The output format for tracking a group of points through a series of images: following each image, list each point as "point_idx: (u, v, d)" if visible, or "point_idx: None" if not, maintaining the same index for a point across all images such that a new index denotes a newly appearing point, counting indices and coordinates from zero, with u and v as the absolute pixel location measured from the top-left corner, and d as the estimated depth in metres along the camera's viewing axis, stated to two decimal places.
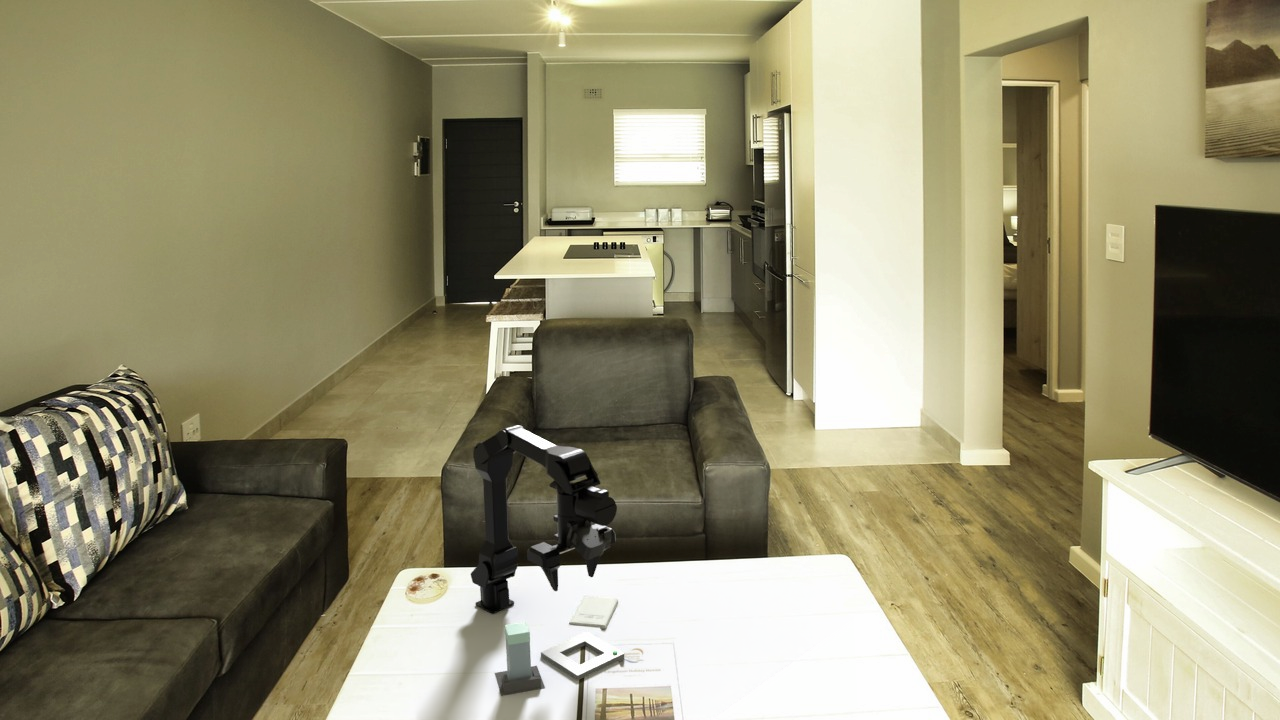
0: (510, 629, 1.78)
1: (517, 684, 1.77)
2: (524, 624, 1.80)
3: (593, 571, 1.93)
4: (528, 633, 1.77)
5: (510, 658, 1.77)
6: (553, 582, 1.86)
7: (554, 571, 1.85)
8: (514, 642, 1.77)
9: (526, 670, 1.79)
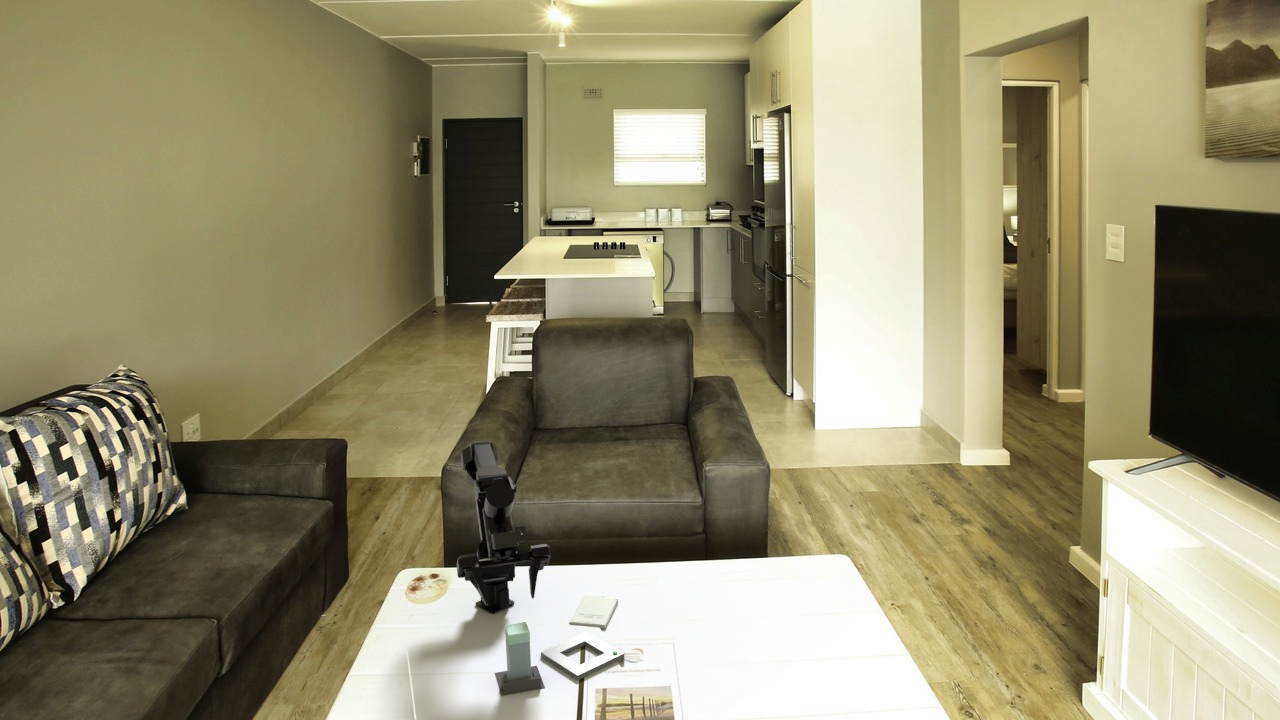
0: (510, 629, 1.78)
1: (517, 684, 1.77)
2: (524, 624, 1.80)
3: (533, 589, 1.87)
4: (528, 633, 1.77)
5: (510, 658, 1.77)
6: (481, 593, 1.85)
7: (478, 578, 1.85)
8: (514, 642, 1.77)
9: (526, 670, 1.79)
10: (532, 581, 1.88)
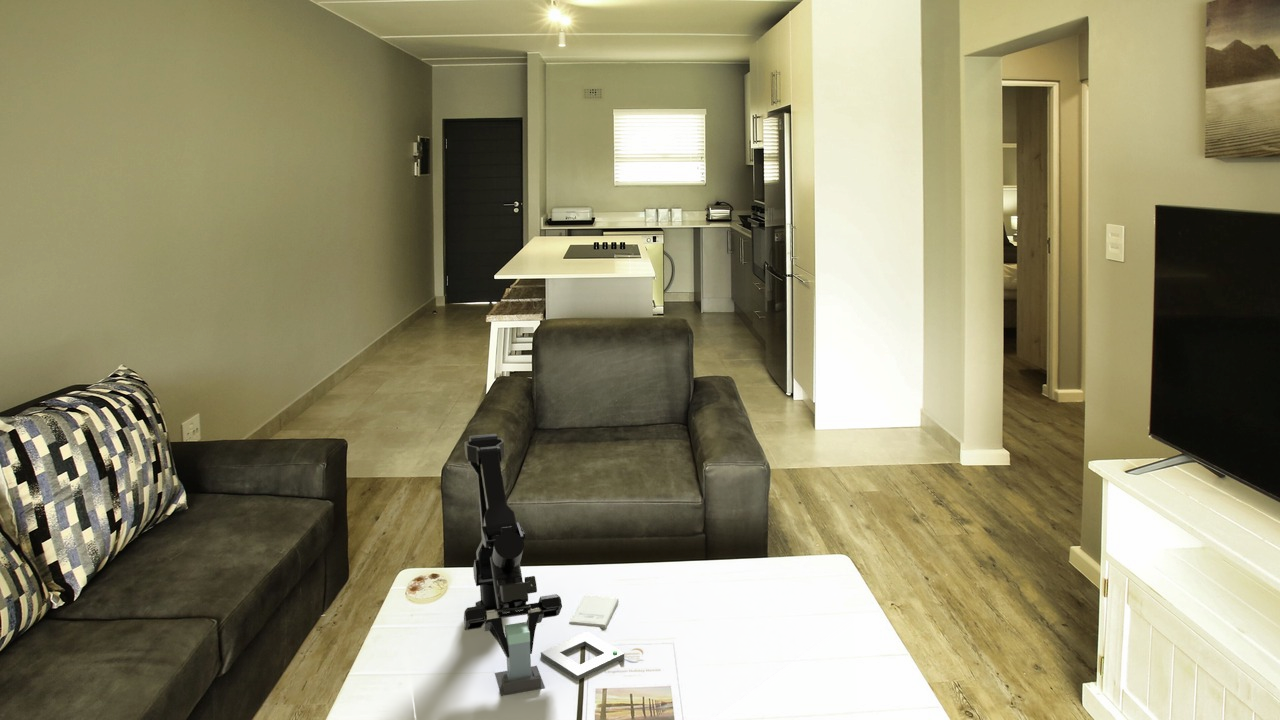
0: (510, 629, 1.78)
1: (517, 684, 1.77)
2: (524, 624, 1.80)
3: (530, 644, 1.79)
4: (528, 633, 1.77)
5: (510, 658, 1.77)
6: (502, 645, 1.78)
7: (498, 629, 1.79)
8: (514, 642, 1.77)
9: (526, 670, 1.79)
10: (530, 636, 1.80)
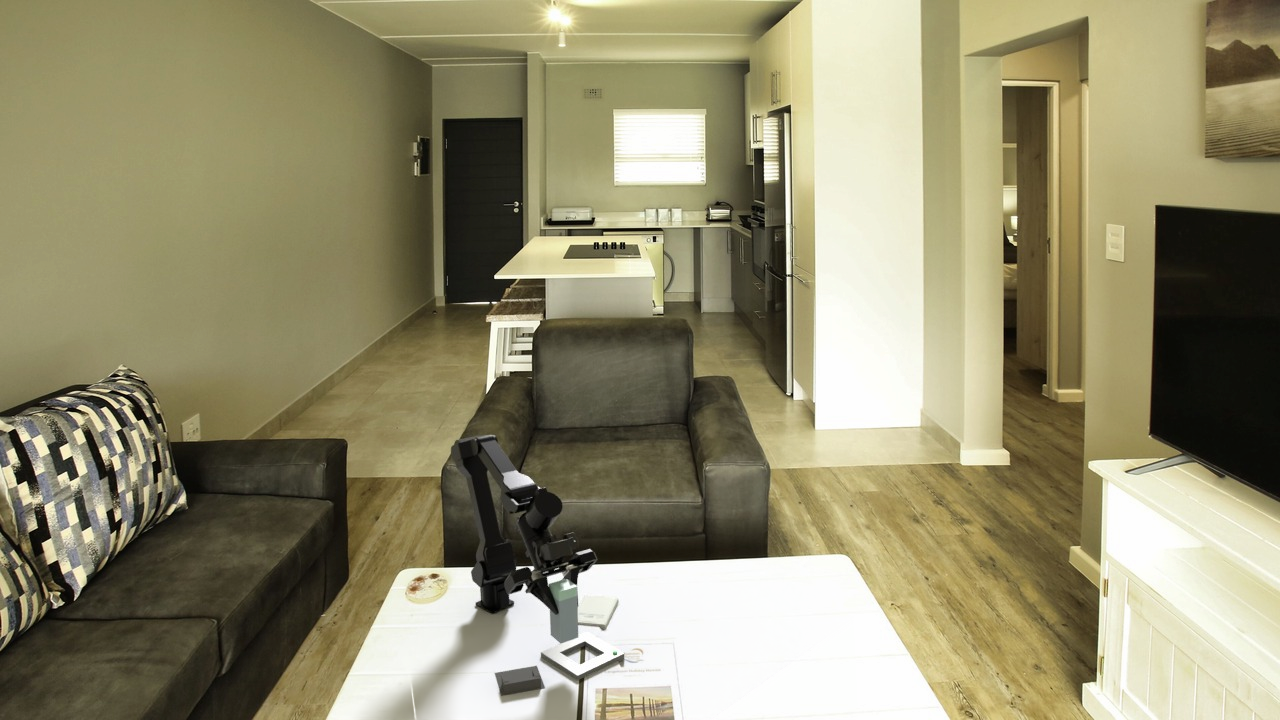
0: (557, 586, 1.82)
1: (517, 684, 1.77)
2: (567, 581, 1.84)
3: None
4: (576, 587, 1.82)
5: (560, 614, 1.81)
6: (550, 603, 1.81)
7: (545, 588, 1.82)
8: (564, 598, 1.81)
9: (574, 625, 1.83)
10: None
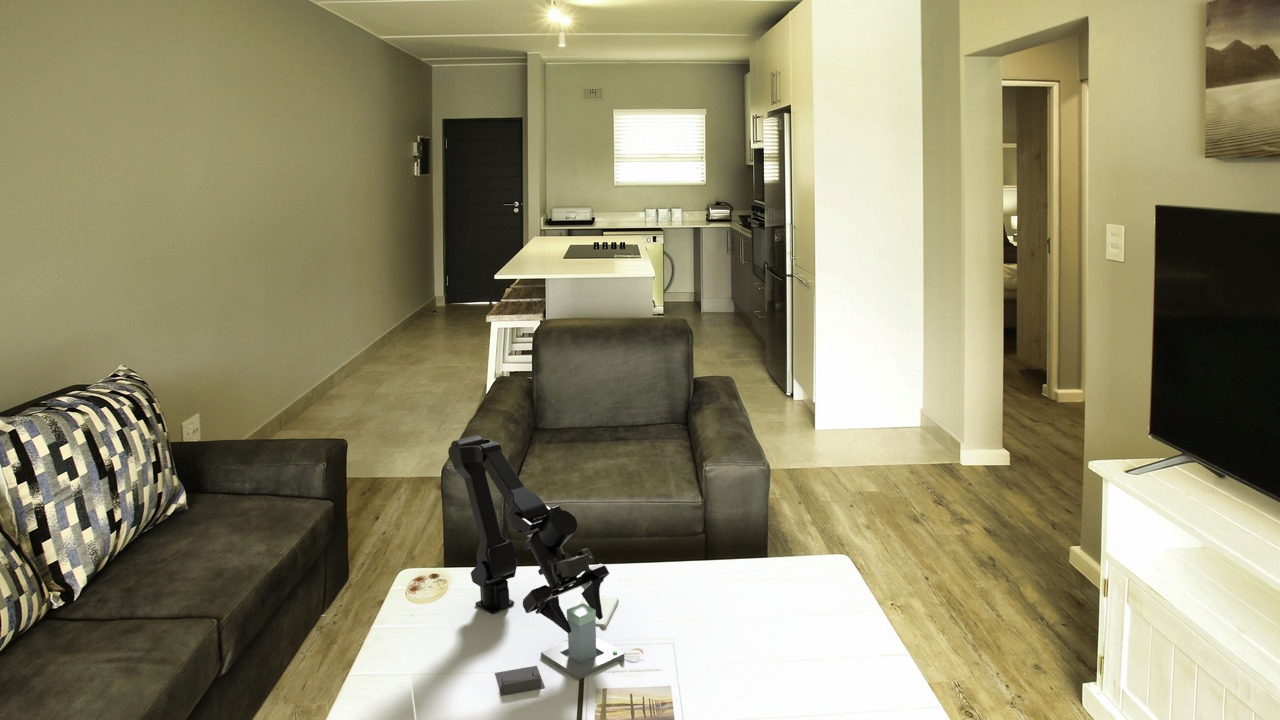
0: (576, 611, 1.86)
1: (517, 684, 1.77)
2: (584, 605, 1.88)
3: (600, 610, 1.89)
4: (594, 611, 1.86)
5: (580, 638, 1.85)
6: (562, 622, 1.84)
7: (556, 608, 1.84)
8: (584, 622, 1.85)
9: (592, 648, 1.88)
10: (597, 603, 1.90)
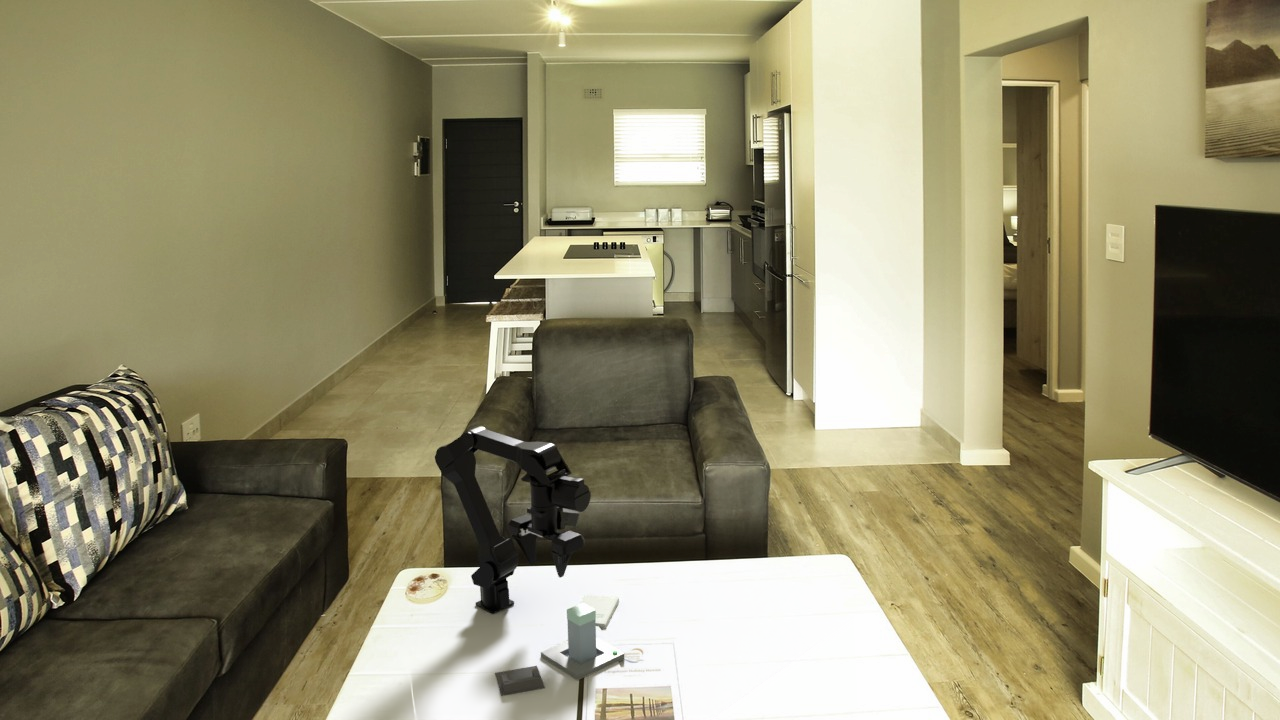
0: (576, 611, 1.86)
1: (517, 684, 1.77)
2: (584, 605, 1.88)
3: None
4: (594, 611, 1.86)
5: (580, 638, 1.85)
6: (565, 567, 1.98)
7: None
8: (584, 622, 1.85)
9: (592, 648, 1.88)
10: None
